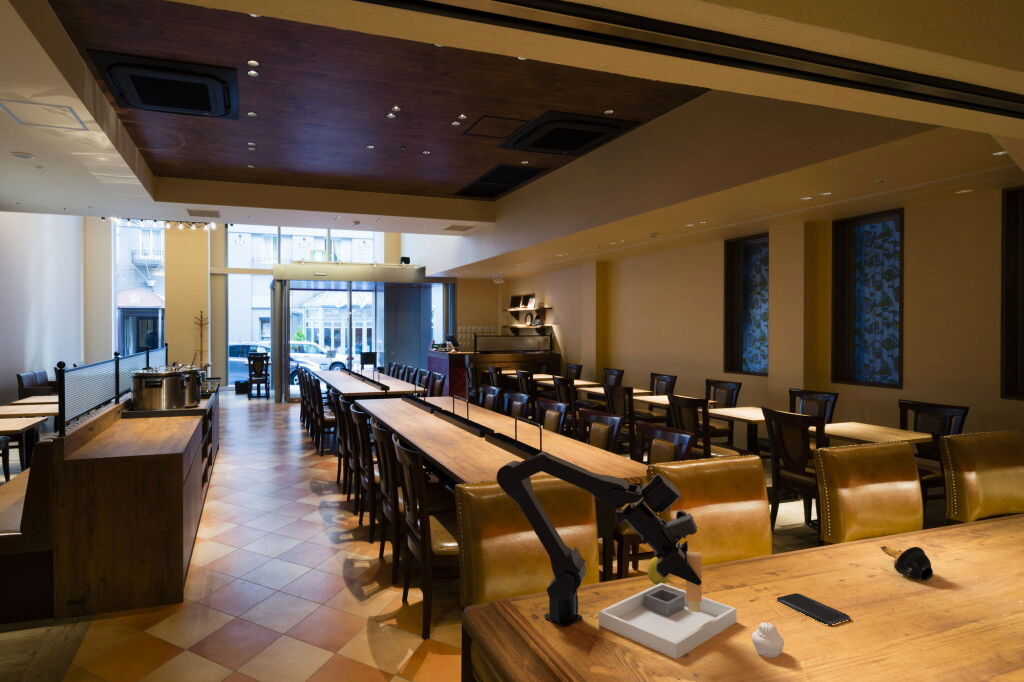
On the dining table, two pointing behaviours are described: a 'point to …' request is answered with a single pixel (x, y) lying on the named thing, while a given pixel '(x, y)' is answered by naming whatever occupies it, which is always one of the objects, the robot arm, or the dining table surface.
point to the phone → (813, 609)
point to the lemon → (655, 572)
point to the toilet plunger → (911, 562)
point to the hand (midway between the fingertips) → (700, 580)
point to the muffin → (767, 640)
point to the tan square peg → (692, 589)
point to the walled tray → (667, 620)
